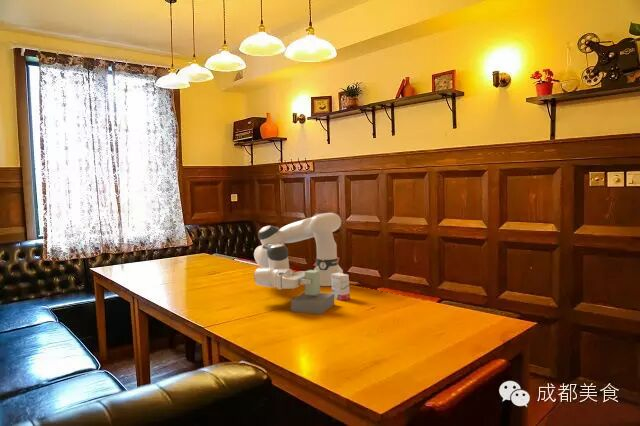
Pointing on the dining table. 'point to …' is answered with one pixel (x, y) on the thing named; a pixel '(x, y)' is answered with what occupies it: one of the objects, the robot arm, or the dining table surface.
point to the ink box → (340, 286)
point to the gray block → (312, 303)
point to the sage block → (315, 285)
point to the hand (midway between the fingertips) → (314, 280)
